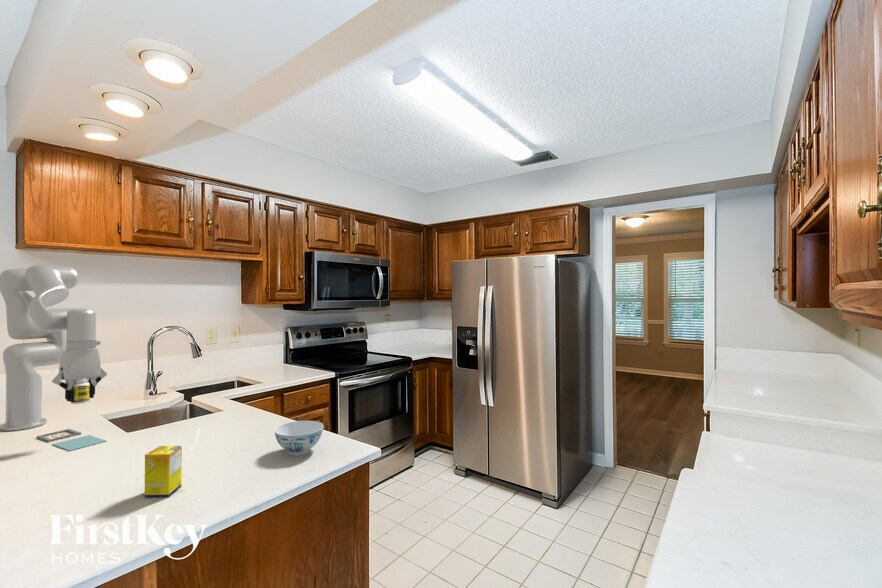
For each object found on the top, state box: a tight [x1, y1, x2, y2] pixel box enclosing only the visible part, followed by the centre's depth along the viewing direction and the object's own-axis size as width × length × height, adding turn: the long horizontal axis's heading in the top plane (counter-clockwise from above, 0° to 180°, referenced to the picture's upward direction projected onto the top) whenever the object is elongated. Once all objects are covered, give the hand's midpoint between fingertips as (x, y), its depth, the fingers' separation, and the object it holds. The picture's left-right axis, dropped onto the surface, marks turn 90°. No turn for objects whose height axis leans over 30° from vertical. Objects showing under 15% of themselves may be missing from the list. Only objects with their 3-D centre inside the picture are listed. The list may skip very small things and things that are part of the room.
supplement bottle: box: [70, 378, 90, 405], centre depth 137 cm, size 5×5×8 cm
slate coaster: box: [36, 428, 82, 443], centre depth 143 cm, size 9×9×1 cm
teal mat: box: [52, 434, 107, 452], centre depth 137 cm, size 12×10×1 cm
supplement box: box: [144, 445, 183, 499], centre depth 103 cm, size 6×6×11 cm
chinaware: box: [274, 420, 324, 456], centre depth 131 cm, size 15×15×8 cm
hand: (80, 398), depth 137 cm, fingers closed on supplement bottle, 4 cm apart
